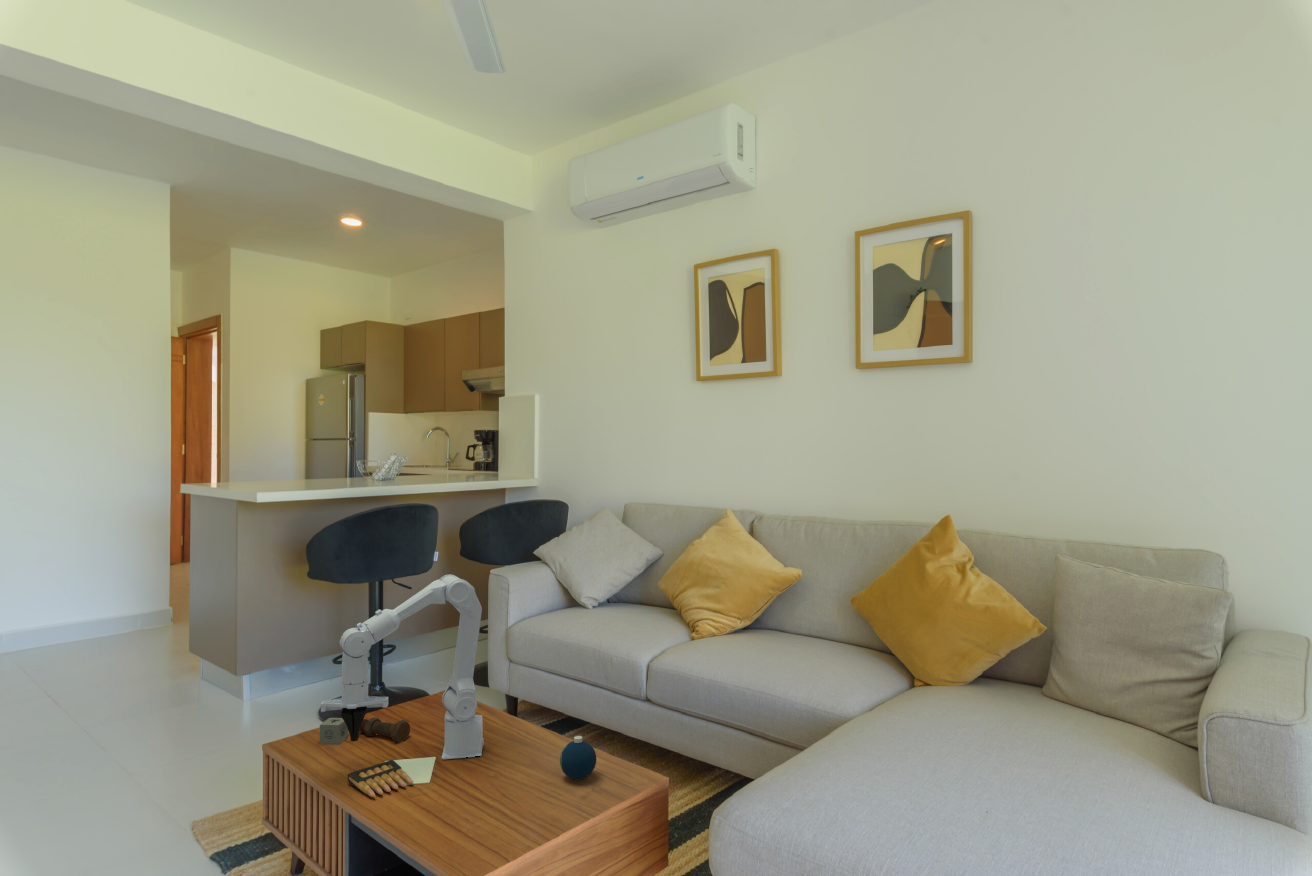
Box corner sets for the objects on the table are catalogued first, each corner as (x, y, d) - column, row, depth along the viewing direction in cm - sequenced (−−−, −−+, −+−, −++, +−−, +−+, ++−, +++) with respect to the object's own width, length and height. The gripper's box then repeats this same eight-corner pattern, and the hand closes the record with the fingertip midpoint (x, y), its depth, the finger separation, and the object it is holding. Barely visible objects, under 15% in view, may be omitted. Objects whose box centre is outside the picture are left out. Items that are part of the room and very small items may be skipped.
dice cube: (347, 737, 194) (348, 718, 194) (338, 744, 189) (338, 725, 190) (329, 736, 195) (329, 717, 195) (319, 744, 190) (319, 724, 190)
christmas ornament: (571, 767, 175) (571, 725, 175) (602, 773, 172) (602, 730, 172) (553, 782, 168) (553, 738, 168) (585, 788, 164) (585, 743, 164)
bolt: (363, 738, 198) (405, 745, 192) (350, 734, 194) (393, 742, 188) (371, 715, 201) (413, 722, 195) (358, 711, 197) (400, 718, 191)
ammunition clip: (347, 781, 167) (370, 802, 159) (347, 773, 167) (370, 794, 158) (392, 767, 175) (416, 786, 166) (392, 759, 175) (417, 778, 166)
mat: (435, 757, 181) (435, 756, 181) (429, 782, 167) (429, 782, 167) (384, 761, 179) (384, 760, 179) (374, 787, 165) (374, 786, 165)
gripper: (317, 688, 166) (317, 749, 166) (384, 684, 169) (384, 743, 169) (325, 679, 173) (324, 737, 173) (389, 675, 176) (389, 732, 175)
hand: (354, 739), depth 171 cm, fingers closed
